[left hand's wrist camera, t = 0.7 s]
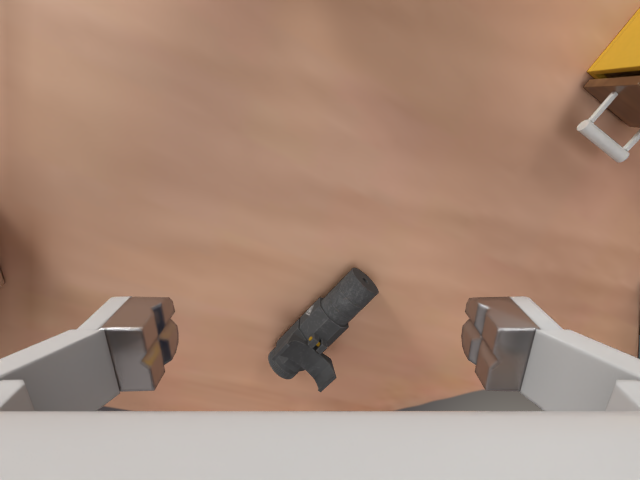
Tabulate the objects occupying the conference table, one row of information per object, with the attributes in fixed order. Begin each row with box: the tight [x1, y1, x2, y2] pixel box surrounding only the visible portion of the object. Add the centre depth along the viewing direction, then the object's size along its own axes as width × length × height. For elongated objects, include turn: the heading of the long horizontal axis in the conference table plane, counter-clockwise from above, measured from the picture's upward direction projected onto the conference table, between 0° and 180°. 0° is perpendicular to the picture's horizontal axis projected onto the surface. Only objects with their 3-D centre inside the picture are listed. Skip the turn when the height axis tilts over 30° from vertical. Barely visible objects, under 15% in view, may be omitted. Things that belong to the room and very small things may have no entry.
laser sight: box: [268, 268, 378, 392], centre depth 59 cm, size 10×22×10 cm, turn 140°
